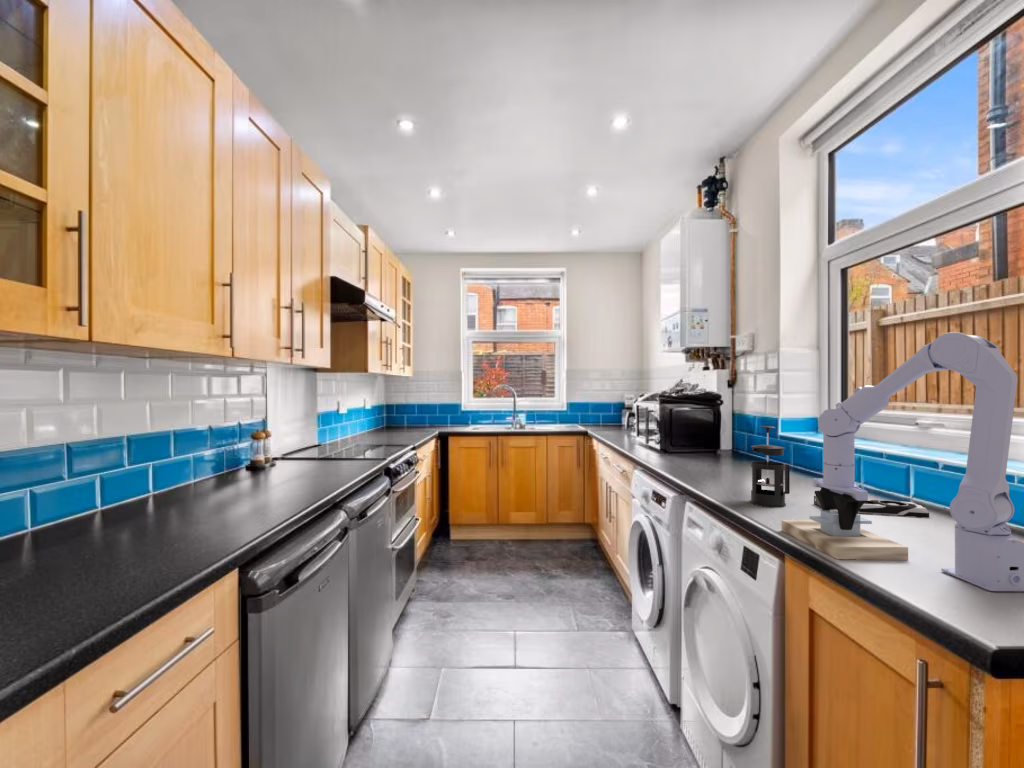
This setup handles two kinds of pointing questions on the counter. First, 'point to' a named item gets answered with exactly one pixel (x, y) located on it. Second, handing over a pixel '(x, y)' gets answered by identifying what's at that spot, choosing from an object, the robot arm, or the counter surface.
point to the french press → (768, 496)
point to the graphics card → (889, 508)
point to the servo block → (831, 523)
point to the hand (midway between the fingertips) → (838, 526)
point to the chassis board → (845, 542)
